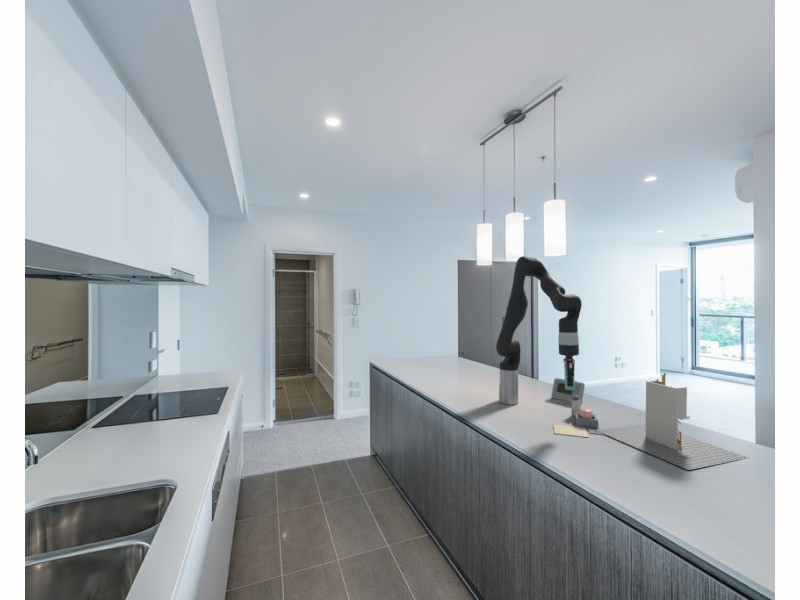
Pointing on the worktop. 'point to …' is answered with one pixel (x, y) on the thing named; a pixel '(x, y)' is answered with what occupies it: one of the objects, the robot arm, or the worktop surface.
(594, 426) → the button housing
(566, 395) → the digital clock
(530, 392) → the worktop surface
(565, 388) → the marker teal
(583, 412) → the button
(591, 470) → the worktop surface
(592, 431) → the card
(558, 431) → the sketch pad
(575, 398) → the marker grey
